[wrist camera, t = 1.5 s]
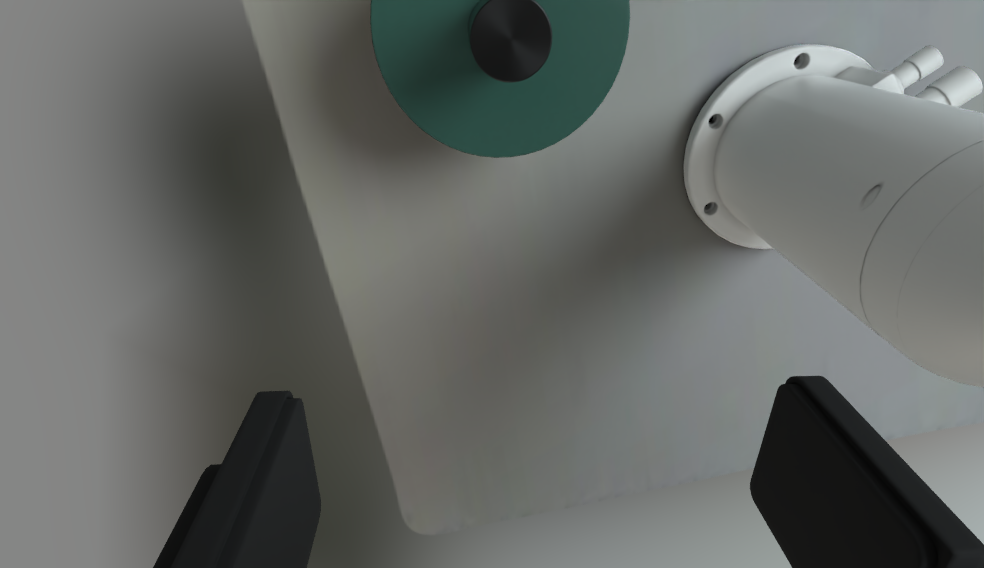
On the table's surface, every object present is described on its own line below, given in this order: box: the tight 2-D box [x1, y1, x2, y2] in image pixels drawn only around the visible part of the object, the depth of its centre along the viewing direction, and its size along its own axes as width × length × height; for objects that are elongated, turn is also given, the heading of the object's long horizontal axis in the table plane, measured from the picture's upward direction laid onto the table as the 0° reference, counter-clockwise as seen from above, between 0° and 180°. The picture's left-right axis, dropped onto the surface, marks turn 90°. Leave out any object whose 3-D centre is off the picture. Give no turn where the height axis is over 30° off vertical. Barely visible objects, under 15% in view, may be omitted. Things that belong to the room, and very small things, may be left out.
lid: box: [370, 0, 630, 158], centre depth 24 cm, size 12×12×7 cm
